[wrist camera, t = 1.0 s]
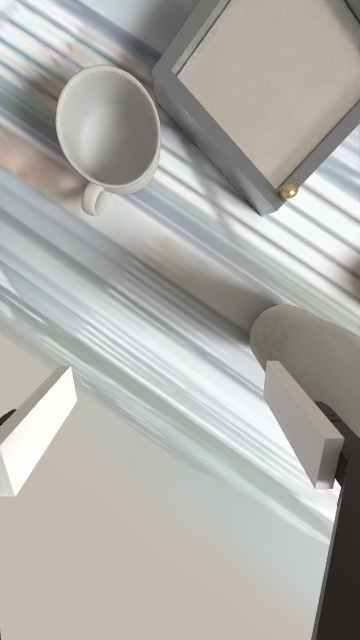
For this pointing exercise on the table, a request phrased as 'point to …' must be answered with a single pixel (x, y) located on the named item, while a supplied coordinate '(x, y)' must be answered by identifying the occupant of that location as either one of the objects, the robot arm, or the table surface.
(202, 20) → the grey serving tray
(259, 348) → the grey bottle
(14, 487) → the robot arm
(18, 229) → the table surface
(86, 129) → the teacup
